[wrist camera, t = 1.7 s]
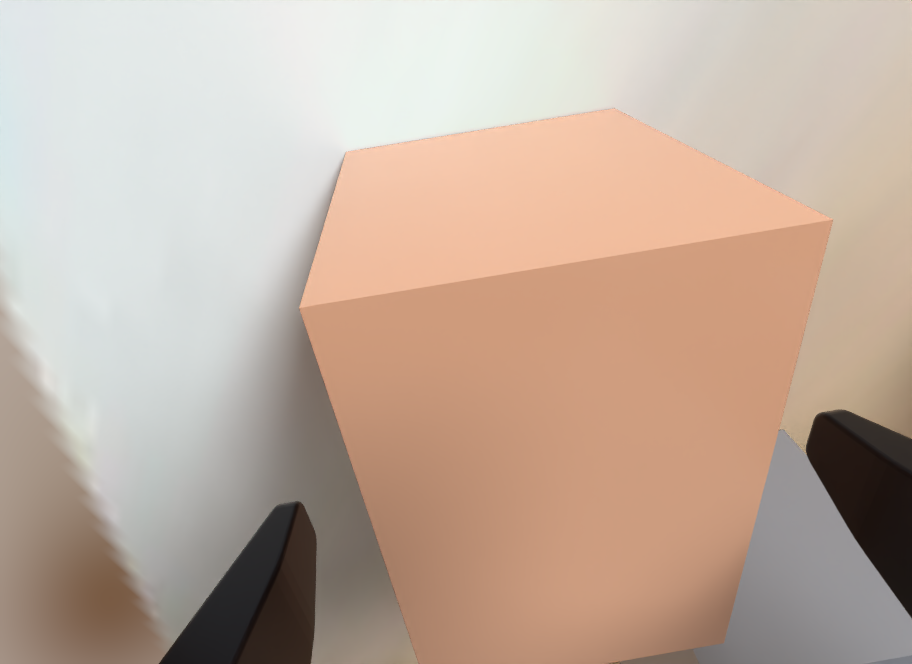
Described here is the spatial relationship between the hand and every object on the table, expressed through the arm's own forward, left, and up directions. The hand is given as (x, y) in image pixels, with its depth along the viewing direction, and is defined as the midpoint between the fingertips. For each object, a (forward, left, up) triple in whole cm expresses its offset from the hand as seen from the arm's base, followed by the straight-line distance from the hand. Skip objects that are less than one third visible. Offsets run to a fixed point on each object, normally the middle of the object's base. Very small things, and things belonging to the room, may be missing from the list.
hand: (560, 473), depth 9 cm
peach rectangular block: (0, 0, -6) cm, 6 cm away
